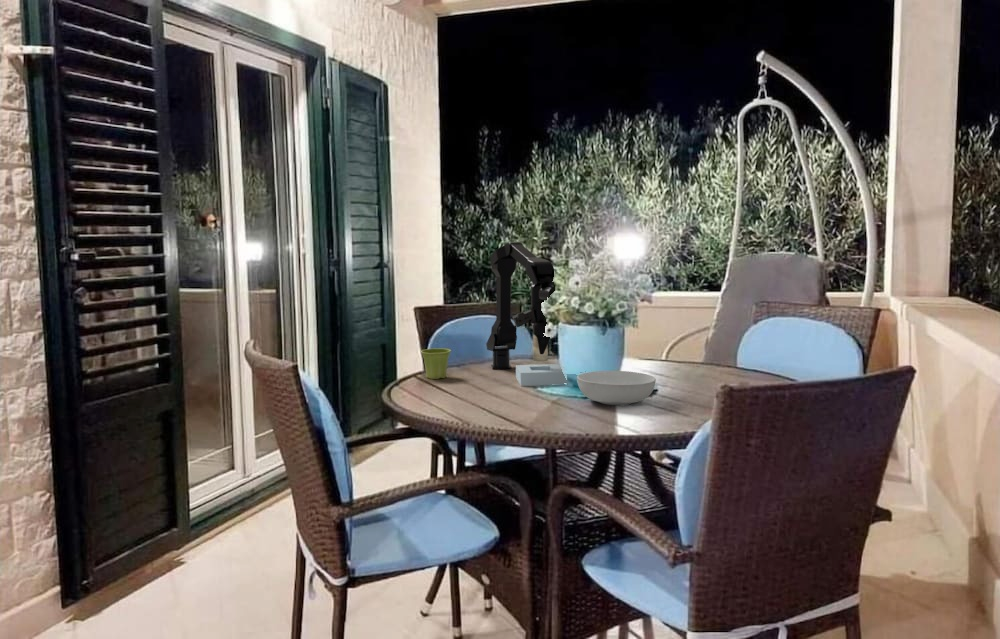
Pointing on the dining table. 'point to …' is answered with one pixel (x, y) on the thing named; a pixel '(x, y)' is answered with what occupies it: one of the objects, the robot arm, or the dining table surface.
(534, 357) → the birch peg
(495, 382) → the dining table surface
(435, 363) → the plant pot
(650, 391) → the serving bowl
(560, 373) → the socket block
